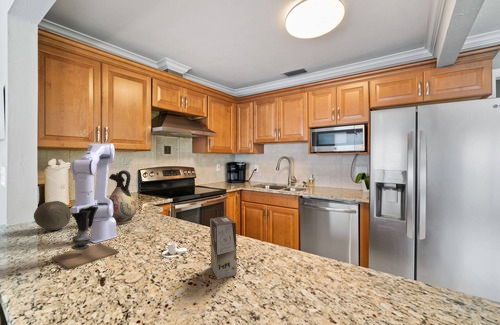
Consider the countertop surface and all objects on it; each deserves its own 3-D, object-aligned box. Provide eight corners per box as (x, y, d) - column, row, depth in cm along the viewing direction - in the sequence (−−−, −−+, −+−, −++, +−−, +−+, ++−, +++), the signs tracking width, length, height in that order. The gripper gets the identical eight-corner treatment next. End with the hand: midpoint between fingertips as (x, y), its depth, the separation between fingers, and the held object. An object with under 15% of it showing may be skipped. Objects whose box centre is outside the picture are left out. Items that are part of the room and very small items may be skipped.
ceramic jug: (99, 225, 125) (97, 170, 124) (119, 218, 140) (118, 169, 140) (127, 226, 122) (125, 170, 122) (144, 219, 137) (143, 169, 137)
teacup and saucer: (189, 252, 89) (189, 241, 89) (174, 260, 81) (174, 249, 81) (172, 248, 92) (172, 238, 92) (156, 256, 85) (156, 245, 85)
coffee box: (237, 275, 70) (237, 222, 69) (217, 279, 67) (216, 225, 67) (228, 262, 78) (227, 215, 78) (209, 266, 76) (209, 218, 75)
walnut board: (100, 244, 97) (100, 243, 97) (119, 252, 88) (119, 251, 88) (51, 258, 84) (51, 256, 84) (68, 269, 75) (68, 267, 75)
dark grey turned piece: (79, 251, 82) (84, 218, 82) (66, 248, 83) (70, 215, 83) (93, 246, 88) (98, 215, 88) (81, 243, 89) (85, 212, 89)
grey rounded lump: (65, 224, 128) (65, 198, 127) (75, 229, 119) (74, 200, 119) (31, 231, 116) (30, 202, 116) (39, 236, 108) (38, 205, 108)
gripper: (83, 189, 92) (83, 223, 92) (60, 195, 78) (61, 235, 78) (102, 189, 93) (103, 222, 93) (83, 194, 79) (84, 233, 79)
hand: (85, 228), depth 86 cm, fingers closed on dark grey turned piece, 3 cm apart
